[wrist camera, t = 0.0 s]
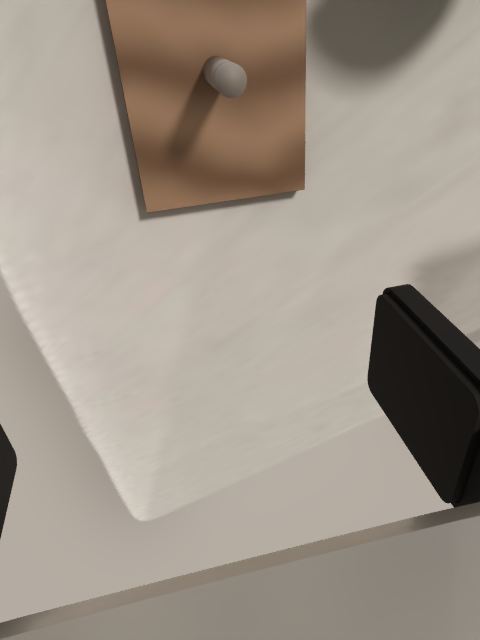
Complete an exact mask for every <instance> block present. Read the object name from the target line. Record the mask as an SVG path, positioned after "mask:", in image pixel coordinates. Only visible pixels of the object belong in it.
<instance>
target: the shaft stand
mask: <svg viewBox="0 0 480 640" xmlns="http://www.w3.org/2000/svg"><path fill="white" fill-rule="evenodd" d="M106 5H107V10H108V15H109V20H110V25H111V30H112V36H113V41H114V46H115V51H116V56H117V61H118V66H119V71H120V77H121V82H122V87H123V92H124V97H125V102H126V107H127V113H128V118H129V123H130V128H131V133H132V138H133V143H134V149H135V154H136V159H137V164H138V169H139V174H140V179H141V184H142V190H143V195H144V200H145V205H146V210H147V212H154V211H161V210H168V209H175V208H181V207H188V206H195V205H202V204H209V203H216V202H223V201H230V200H236V199H243V198H250V197H257V196H264V195H271V194H278V193H285V192H291V191H298V190H305V80H306V0H106Z"/></svg>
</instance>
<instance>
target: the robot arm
mask: <svg viewBox="0 0 480 640" xmlns="http://www.w3.org/2000/svg"><path fill="white" fill-rule="evenodd" d="M368 385H369V389H370V391H371V393H372V394H373V396H374V397H375V399H376V400H377V402H378V404H379V405H380V407H381V408H382V410H383V411H384V413H385V414H386V416H387V417H388V419H389V420H390V422H391V423H392V425H393V426H394V428H395V429H396V431H397V432H398V434H399V435H400V437H401V438H402V440H403V441H404V443H405V445H406V446H407V447H408V449H409V450H410V452H411V454H412V455H413V457H414V458H415V460H416V461H417V463H418V464H419V466H420V467H421V469H422V470H423V472H424V473H425V475H426V476H427V478H428V479H429V481H430V482H431V484H432V485H433V487H434V489H435V490H436V492H437V493H438V495H439V496H440V498H441V499H442V500H443V501H444V502H445V503H451V504H452V505H453V507H454V508H451V509H447V510H442V511H438V512H434V513H429V514H425V515H421V516H417V517H413V518H409V519H405V520H401V521H397V522H393V523H389V524H385V525H381V526H377V527H373V528H369V529H365V530H361V531H357V532H352V533H348V534H345V535H340V536H337V537H332V538H328V539H325V540H320V541H316V542H313V543H308V544H305V545H301V546H296V547H293V548H288V549H285V550H281V551H277V552H273V553H269V554H265V555H261V556H257V557H253V558H249V559H245V560H241V561H237V562H233V563H229V564H225V565H222V566H217V567H214V568H210V569H206V570H202V571H198V572H194V573H190V574H186V575H182V576H178V577H174V578H171V579H166V580H163V581H159V582H155V583H151V584H147V585H143V586H139V587H136V588H132V589H128V590H124V591H120V592H117V593H112V594H109V595H105V596H101V597H97V598H93V599H89V600H86V601H82V602H78V603H74V604H70V605H66V606H63V607H59V608H55V609H51V610H47V611H43V612H39V613H36V614H32V615H28V616H24V617H20V618H17V619H13V620H9V621H6V622H2V623H0V640H480V349H479V348H478V347H477V346H476V345H475V344H474V343H473V342H472V341H470V340H469V339H468V338H467V337H466V336H465V335H464V334H463V333H462V332H461V331H460V330H459V329H458V328H457V327H456V326H454V325H453V324H452V323H451V322H450V321H449V320H448V319H447V318H446V317H445V316H444V315H443V314H442V313H441V312H440V311H439V310H437V309H436V308H435V307H434V306H433V305H432V304H431V303H430V302H429V301H428V300H427V299H426V298H425V297H424V296H423V295H421V294H420V293H419V292H418V291H417V290H416V289H415V288H414V287H413V286H411V285H410V284H406V285H401V286H395V287H390V288H386V289H385V290H384V291H383V294H382V295H379V296H378V298H377V301H376V309H375V318H374V327H373V335H372V344H371V352H370V361H369V370H368ZM16 467H17V458H16V454H15V451H14V449H13V447H12V445H11V443H10V441H9V439H8V438H7V436H6V434H5V432H4V430H3V428H2V426H1V424H0V538H1V533H2V529H3V524H4V520H5V516H6V511H7V507H8V503H9V498H10V494H11V490H12V485H13V481H14V476H15V472H16Z"/></svg>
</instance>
